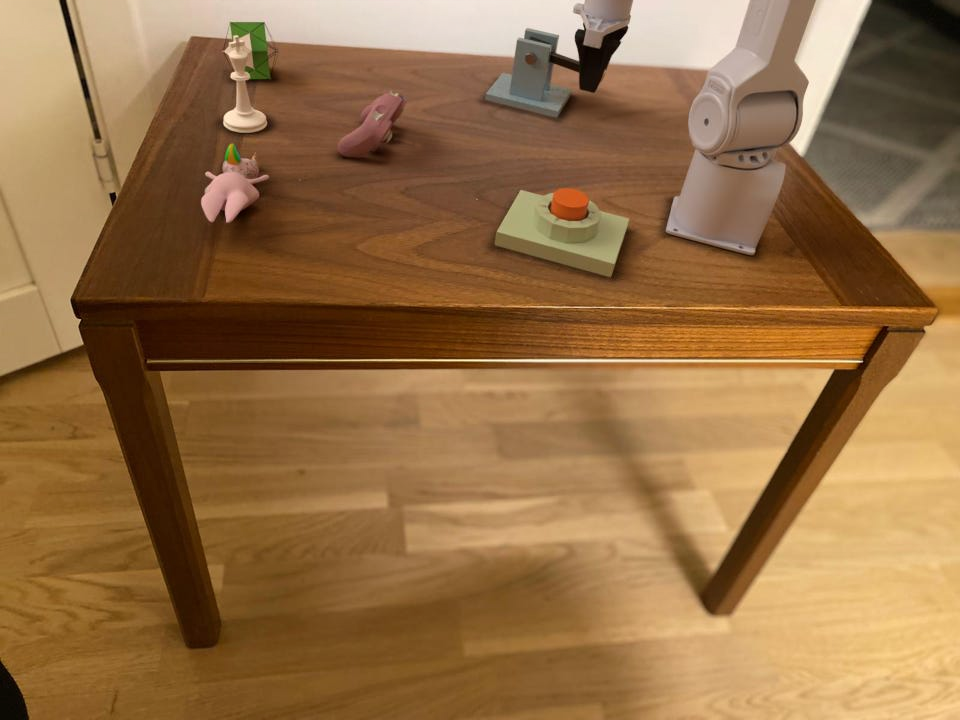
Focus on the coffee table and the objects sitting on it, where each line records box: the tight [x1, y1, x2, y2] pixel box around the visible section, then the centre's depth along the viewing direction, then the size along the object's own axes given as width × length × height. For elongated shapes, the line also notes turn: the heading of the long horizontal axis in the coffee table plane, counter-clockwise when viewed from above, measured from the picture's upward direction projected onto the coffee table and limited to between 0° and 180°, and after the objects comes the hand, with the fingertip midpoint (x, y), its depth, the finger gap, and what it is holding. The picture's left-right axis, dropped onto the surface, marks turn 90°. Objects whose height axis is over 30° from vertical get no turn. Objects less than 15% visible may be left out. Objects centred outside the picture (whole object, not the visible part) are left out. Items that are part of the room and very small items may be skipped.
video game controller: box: [337, 89, 408, 158], centre depth 85 cm, size 10×5×7 cm, turn 168°
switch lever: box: [528, 37, 607, 83], centre depth 96 cm, size 11×3×3 cm, turn 72°
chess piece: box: [222, 35, 268, 134], centre depth 84 cm, size 5×5×10 cm
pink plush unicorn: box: [200, 143, 270, 224], centre depth 73 cm, size 6×6×15 cm
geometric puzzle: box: [221, 21, 280, 80], centre depth 94 cm, size 7×7×8 cm
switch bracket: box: [484, 27, 572, 118], centre depth 98 cm, size 10×8×8 cm
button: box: [550, 187, 590, 221], centre depth 74 cm, size 4×4×2 cm
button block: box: [494, 189, 630, 278], centre depth 76 cm, size 12×9×4 cm
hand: (590, 85), depth 97 cm, fingers closed on switch lever, 3 cm apart
